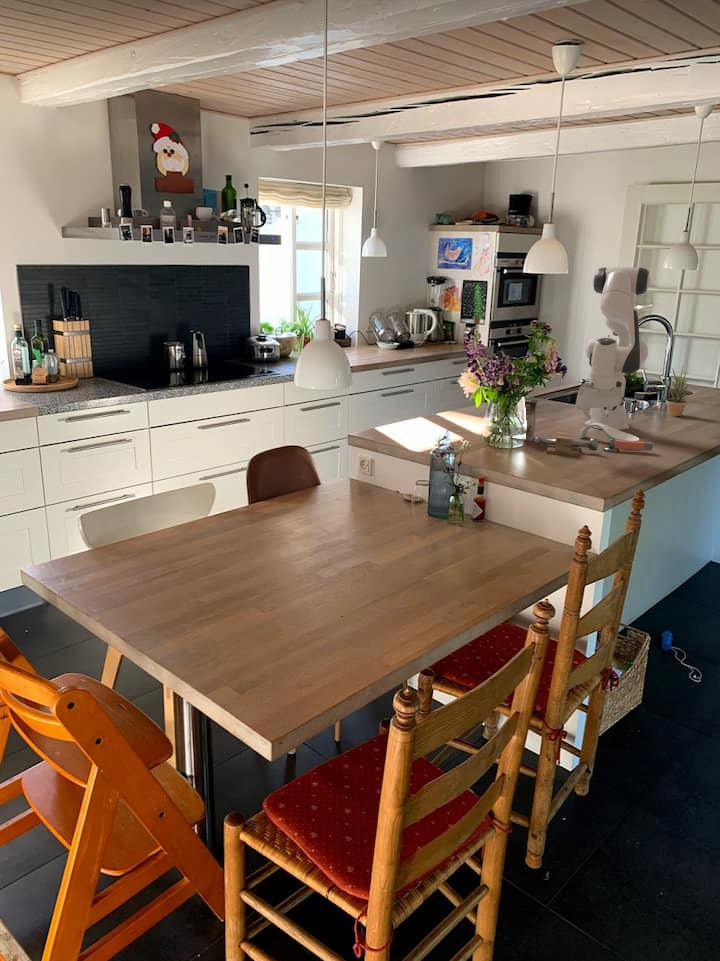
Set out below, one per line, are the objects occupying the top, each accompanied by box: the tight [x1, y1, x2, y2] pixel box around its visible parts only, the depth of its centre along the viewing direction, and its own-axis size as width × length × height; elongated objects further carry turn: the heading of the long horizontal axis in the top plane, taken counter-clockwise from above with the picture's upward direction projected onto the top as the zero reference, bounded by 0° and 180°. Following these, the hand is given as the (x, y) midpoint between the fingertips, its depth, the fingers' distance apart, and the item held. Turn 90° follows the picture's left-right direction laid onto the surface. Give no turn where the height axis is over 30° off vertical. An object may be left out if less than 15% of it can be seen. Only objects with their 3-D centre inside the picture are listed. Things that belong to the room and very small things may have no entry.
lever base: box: [602, 439, 620, 453], centre depth 296 cm, size 6×6×4 cm
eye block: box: [546, 430, 581, 457], centre depth 294 cm, size 14×12×6 cm
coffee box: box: [524, 398, 538, 442], centre depth 310 cm, size 9×6×16 cm
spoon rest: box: [579, 423, 640, 446], centre depth 308 cm, size 24×12×7 cm, turn 52°
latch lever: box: [614, 440, 654, 452], centre depth 295 cm, size 14×2×3 cm, turn 80°
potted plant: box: [665, 365, 689, 417], centre depth 360 cm, size 10×10×25 cm
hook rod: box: [533, 436, 599, 451], centre depth 294 cm, size 3×24×4 cm, turn 74°
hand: (596, 418), depth 288 cm, fingers open, 8 cm apart
